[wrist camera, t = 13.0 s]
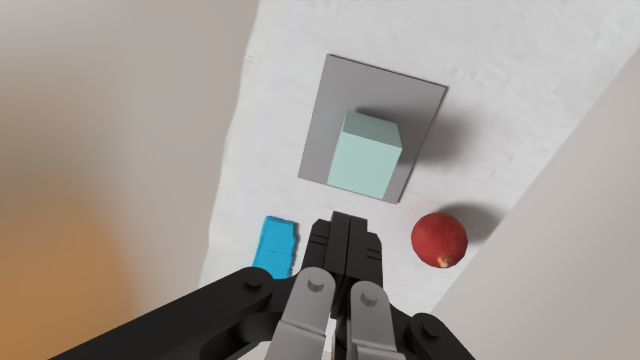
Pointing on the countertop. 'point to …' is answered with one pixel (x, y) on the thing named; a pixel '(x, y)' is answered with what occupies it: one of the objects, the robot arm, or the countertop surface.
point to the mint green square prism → (365, 155)
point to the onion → (439, 240)
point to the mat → (373, 100)
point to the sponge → (276, 247)
